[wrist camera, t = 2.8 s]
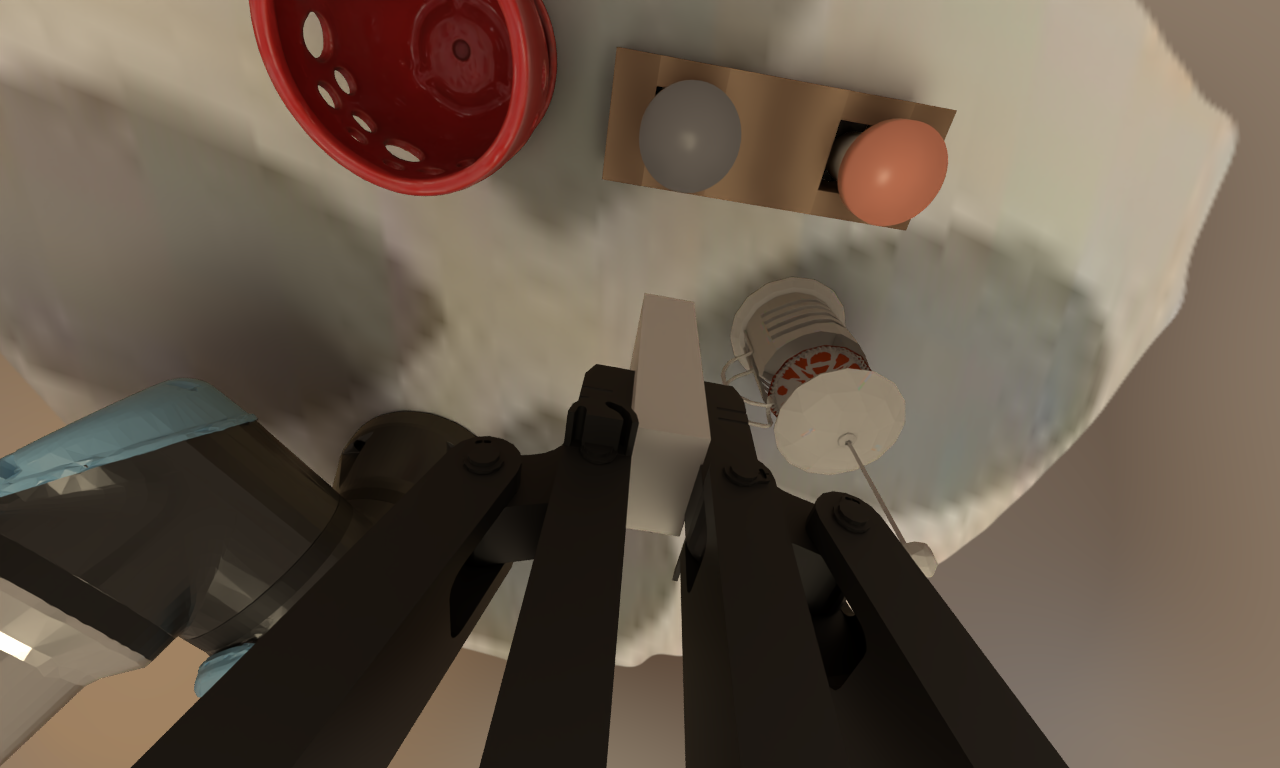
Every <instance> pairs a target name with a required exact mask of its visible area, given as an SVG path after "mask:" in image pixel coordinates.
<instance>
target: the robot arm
mask: <svg viewBox="0 0 1280 768" xmlns="http://www.w3.org/2000/svg"><path fill="white" fill-rule="evenodd" d="M256 420H258V418H257V417H256V416H255V415H254V414H248V413H247V412H245V411H244V410H243V409H242V408H240V407H239V406H238V405H237V404H235V403H234V402H233V401H231V400H230V399H229V398H228V397H226V396H225V395H224V394H222V393H221V392H220V391H219V390H217V389H216V388H215V387H213V386H212V385H210V384H209V383H207V382H204V381H202V380H198V379H193V378H177V379H172V380H168V381H165V382H162V383H159V384H157V385H154V386H152V387H149V388H147V389H145V390H142V391H140V392H138V393H136V394H133V395H131V396H129V397H127V398H124V399H122V400H120V401H118V402H116V403H113V404H111V405H109V406H107V407H105V408H103V409H100V410H98V411H96V412H94V413H92V414H90V415H88V416H86V417H83V418H81V419H79V420H77V421H75V422H73V423H71V424H69V425H67V426H65V427H63V428H61V429H59V430H56V431H55V432H52V433H50V434H48V435H46V436H44V437H42V438H40V439H38V440H36V441H34V442H33V443H30V444H28V445H26V446H24V447H23V448H21V449H18V450H17V451H16V452H14V453H12V454H9V455H7V456H5V457H3V458H1V459H0V766H1V765H2V764H3V763H4V762H5V761H6V760H8V759H9V757H11V756H12V755H13V754H14V753H15V752H16V751H17V750H18V749H19V748H20V747H21V746H22V745H23V744H24V743H25V742H26V741H28V740H29V739H30V738H31V737H32V736H33V735H34V734H35V733H36V732H37V731H38V730H39V729H40V728H41V727H42V726H43V725H44V724H46V723H47V721H49V720H50V719H51V718H52V717H53V716H54V715H55V714H56V713H57V712H58V711H59V710H60V709H61V708H62V707H64V706H65V704H67V703H68V702H69V701H70V700H71V699H72V698H73V697H74V696H75V695H76V694H77V693H78V692H79V691H80V690H81V689H83V688H84V687H85V686H86V685H88V684H90V683H92V682H94V681H97V680H99V679H101V678H104V677H108V676H112V675H117V674H120V673H125V672H129V671H132V670H136V669H140V668H145V667H146V666H147V665H148V664H150V663H151V662H152V661H153V660H154V659H155V658H156V657H157V656H158V655H159V654H160V653H161V652H162V651H163V650H164V649H165V648H166V647H167V646H168V645H169V644H170V643H171V642H172V641H173V640H174V639H175V638H176V637H178V636H179V637H180V638H182V639H184V640H186V641H187V642H189V643H191V644H192V645H194V646H196V647H198V648H199V649H201V650H203V651H204V652H206V653H207V654H208V655H209V656H210V657H208V658H207V660H206V661H204V662H203V663H202V664H201V666H200V667H199V670H198V676H197V678H196V681H195V684H194V685H195V686H194V690H195V693H196V695H197V697H201V698H200V699H199V700H198V701H197V702H196V703H195V704H194V705H193V706H192V707H191V708H190V709H189V710H188V711H187V712H186V713H185V714H184V715H183V716H182V717H181V718H180V719H179V720H178V721H177V722H176V723H175V724H174V725H173V726H172V727H171V728H170V729H169V730H168V731H167V732H166V733H165V734H164V735H163V736H162V737H161V738H160V739H159V740H158V741H157V742H156V743H155V744H154V745H153V746H152V747H151V748H150V749H149V750H148V751H147V752H146V753H145V754H144V755H143V756H142V757H141V758H140V759H139V760H138V761H137V762H136V763H135V764H134V765H133V766H132V767H131V768H387V767H388V765H389V764H390V762H391V760H392V759H393V757H394V756H395V754H396V752H397V751H398V749H399V747H400V746H401V744H402V743H403V741H404V739H405V738H406V736H407V735H408V733H409V731H410V730H411V728H412V727H413V725H414V723H415V722H416V720H417V718H418V717H419V715H420V713H421V712H422V710H423V709H424V707H425V706H426V704H427V702H428V701H429V699H430V698H431V696H432V694H433V693H434V691H435V690H436V688H437V686H438V685H439V683H440V681H441V680H442V678H443V676H444V675H445V673H446V672H447V670H448V669H449V667H450V665H451V664H452V662H453V661H454V659H455V657H456V656H457V654H458V652H459V651H460V649H461V648H462V646H463V644H464V643H465V641H466V640H467V638H468V636H469V635H470V633H471V632H472V630H473V628H474V627H475V625H476V624H477V622H478V620H479V619H480V617H481V615H482V614H483V612H484V611H485V609H486V607H487V606H488V604H489V603H490V601H491V599H492V598H493V596H494V595H495V593H496V591H497V590H498V588H499V587H500V585H501V583H502V582H503V580H504V578H505V577H506V575H507V574H508V572H509V570H510V569H511V567H512V564H513V562H516V561H523V560H531V559H534V561H533V565H532V569H531V572H530V576H529V580H528V584H527V588H526V591H525V595H524V599H523V603H522V607H521V610H520V614H519V618H518V622H517V626H516V630H515V633H514V637H513V641H512V645H511V649H510V652H509V656H508V660H507V664H506V668H505V672H504V675H503V679H502V683H501V687H500V691H499V695H498V698H497V702H496V706H495V710H494V714H493V717H492V721H491V725H490V729H489V733H488V736H487V740H486V744H485V748H484V752H483V755H482V759H481V763H480V767H479V768H606V766H607V754H608V741H609V728H610V717H611V716H610V715H611V705H612V692H613V679H614V667H615V655H616V643H617V631H618V618H619V606H620V594H621V581H622V569H623V557H624V544H625V532H626V528H629V529H635V530H641V531H648V532H654V533H661V534H667V535H673V536H680V534H681V531H682V528H683V524H684V521H685V536H686V538H685V541H684V544H683V547H682V550H681V553H680V556H679V559H678V562H677V565H676V568H675V571H674V575H673V579H672V580H673V581H678V578H679V575H680V576H681V613H682V650H683V683H684V684H683V687H684V724H685V756H686V757H685V761H686V768H1069V767H1068V766H1067V764H1066V763H1065V762H1064V760H1063V759H1062V758H1061V756H1060V755H1059V754H1058V752H1057V751H1056V750H1055V748H1054V747H1053V746H1052V744H1051V743H1050V742H1049V741H1048V739H1047V738H1046V736H1045V735H1044V734H1043V732H1042V731H1041V730H1040V728H1039V727H1038V726H1037V724H1036V723H1035V722H1034V720H1033V719H1032V718H1031V716H1030V715H1029V714H1028V712H1027V711H1026V709H1025V708H1024V707H1023V706H1022V704H1021V703H1020V702H1019V700H1018V699H1017V698H1016V696H1015V695H1014V694H1013V692H1012V691H1011V689H1010V688H1009V687H1008V685H1007V684H1006V683H1005V681H1004V680H1003V679H1002V677H1001V676H1000V675H999V674H998V672H997V671H996V669H995V668H994V667H993V666H992V664H991V663H990V661H989V660H988V659H987V657H986V656H985V655H984V653H983V652H982V651H981V649H980V648H979V647H978V645H977V644H976V643H975V641H974V640H973V639H972V637H971V636H970V635H969V633H968V632H967V631H966V629H965V628H964V627H963V625H962V624H961V623H960V622H959V620H958V619H957V617H956V616H955V615H954V613H953V612H952V611H951V610H950V608H949V607H948V606H947V604H946V603H945V601H944V600H943V599H942V597H941V596H940V595H939V593H938V592H937V591H936V589H935V588H934V587H933V585H932V584H931V583H930V581H929V580H928V579H927V577H926V576H925V575H924V573H923V572H922V571H921V569H920V568H919V567H918V565H917V564H916V563H915V561H914V560H913V559H912V557H911V556H910V555H909V553H908V552H907V551H906V549H905V548H904V547H903V545H902V544H901V543H900V541H899V540H898V539H897V537H896V536H895V535H894V533H893V532H892V531H891V529H890V528H889V527H888V525H887V524H886V523H885V521H884V520H883V519H882V517H881V516H880V515H879V514H878V513H877V512H876V511H875V510H874V509H873V508H872V507H871V506H870V505H868V504H867V503H865V502H864V501H862V500H861V499H859V498H857V497H854V496H852V495H849V494H847V493H841V492H834V491H833V492H828V493H823V494H822V495H821V496H820V497H819V498H818V499H817V500H816V502H815V504H813V503H811V502H808V501H806V500H803V499H801V498H798V497H796V496H793V495H791V494H789V493H787V492H785V491H783V490H781V489H780V488H778V487H777V485H776V481H775V479H774V477H773V475H772V473H771V471H770V470H769V469H768V468H767V467H766V466H765V465H764V464H763V463H761V462H760V461H758V460H757V456H756V451H755V447H754V443H753V439H752V434H751V430H750V426H749V425H748V424H749V421H748V417H747V414H746V409H745V404H744V400H743V398H742V397H741V396H740V395H739V393H738V392H737V391H736V390H735V389H734V387H733V386H727V385H721V384H716V383H710V382H704V379H703V371H702V363H701V354H700V346H699V338H698V330H697V322H696V314H695V306H694V302H691V301H685V300H680V299H674V298H669V297H664V296H658V295H653V294H647V293H645V294H644V299H643V304H642V309H641V315H640V320H639V325H638V330H637V335H636V340H635V345H634V351H633V356H632V361H631V366H630V370H627V369H622V368H616V367H610V366H605V365H599V364H596V365H595V366H593V367H592V368H591V369H590V370H589V371H587V372H586V373H585V377H584V381H583V385H582V388H581V392H580V397H579V400H578V401H577V402H575V403H573V404H572V406H571V407H570V409H569V410H568V415H567V423H566V431H565V439H564V443H563V444H562V445H561V446H560V447H558V448H556V449H555V450H552V451H549V452H546V453H542V454H535V455H520V452H519V451H518V449H517V448H516V447H515V446H514V445H513V444H511V443H509V442H508V441H506V440H504V439H501V438H495V437H490V436H484V437H475V436H474V435H473V434H472V433H470V432H469V431H467V430H466V429H464V428H463V427H461V426H459V425H458V424H456V423H454V422H452V421H449V420H447V419H444V418H442V417H439V416H435V415H431V414H427V413H421V412H409V411H408V412H394V413H389V414H385V415H381V416H379V417H376V418H374V419H372V420H370V421H369V422H367V423H366V424H364V425H363V426H362V427H361V428H360V429H359V430H358V431H357V432H356V434H355V435H354V436H353V437H352V439H351V440H350V441H349V442H348V444H347V445H346V447H345V448H344V450H343V452H342V454H341V457H340V460H339V464H338V468H337V472H336V476H335V479H334V483H333V487H331V486H330V485H329V484H328V483H326V482H325V481H324V480H323V479H322V478H321V477H320V476H318V475H317V474H316V473H315V472H314V471H313V470H312V469H310V468H309V467H308V466H307V465H306V464H305V463H304V462H302V461H301V460H300V459H299V458H298V457H297V456H296V455H294V454H293V453H292V452H291V451H290V450H289V449H288V448H287V447H285V446H284V445H283V444H282V443H281V442H280V441H279V440H277V439H276V438H275V437H274V436H273V435H272V434H271V433H269V432H268V431H267V430H266V429H265V428H264V427H263V426H262V425H261V424H260V423H258V422H257V421H256ZM846 600H847V601H848V603H849V605H850V606H851V608H852V610H853V611H852V610H851V609H850V607H849V606H848V604H847V602H846Z"/></svg>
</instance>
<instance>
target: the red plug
mask: <svg viewBox="0 0 1280 768" xmlns="http://www.w3.org/2000/svg"><path fill="white" fill-rule="evenodd" d="M947 166H948V154H947V148H946V145H945V142H944V140H943V138H942V137H941V135H940V134H939V133H938V132H937V131H936V130H935V129H934V128H933V127H931V126H930V125H928V124H926V123H924V122H920V121H916V120H910V119H902V118H897V119H889V120H885V121H882V122H879V123H877V124H875V125H873V126H871V127H870V128H868V129H867V130H865V131H864V132H863V133H861V132H856V131H851V132H847V133H844V134H842V135H841V136H839V137H838V138H836V139H835V140H834V141H833V144H832V148H831V151H830V154H829V157H828V160H827V163H826V169H827V171H828V173H829V175H830V176H831V177H832V178H833V179H835V180H837V181H838V191H839V195H840V198H841V200H842V202H843V204H844V205H845V207H846V208H847V209H848V210H849V211H850V212H851V213H852V214H854V215H855V216H856V217H858V218H859V219H861V220H863V221H864V222H866V223H869V224H872V225H876V226H891V225H896V224H900V223H902V222H905V221H907V220H909V219H911V218H913V217H915V216H916V215H917V214H919V213H920V212H921V211H923V210H924V209H925V208H926V207H927V206H928V205H929V204H930V203H931V202H932V200H933V199H934V198H935V197H936V195H937V193H938V192H939V190H940V188H941V186H942V184H943V182H944V179H945V176H946V172H947Z"/></svg>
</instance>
